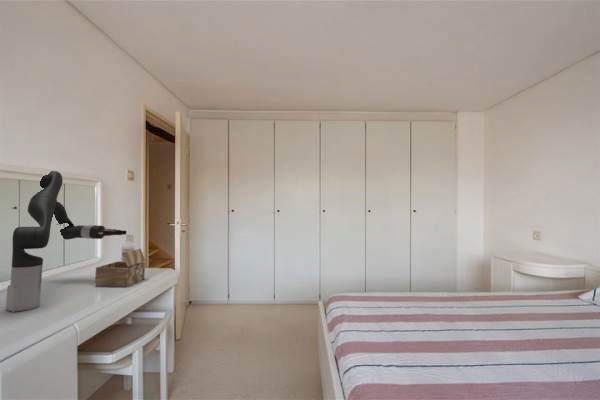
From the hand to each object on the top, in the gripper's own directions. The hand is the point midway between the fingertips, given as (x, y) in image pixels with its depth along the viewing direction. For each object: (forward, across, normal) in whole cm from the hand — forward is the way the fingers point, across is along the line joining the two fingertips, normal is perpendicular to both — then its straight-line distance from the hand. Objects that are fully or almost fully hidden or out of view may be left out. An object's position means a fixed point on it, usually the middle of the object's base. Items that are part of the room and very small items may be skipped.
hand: (123, 232), depth 158 cm
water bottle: (-8, +20, +28) cm, 35 cm away
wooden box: (0, 0, +28) cm, 28 cm away
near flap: (+6, 0, +14) cm, 15 cm away
